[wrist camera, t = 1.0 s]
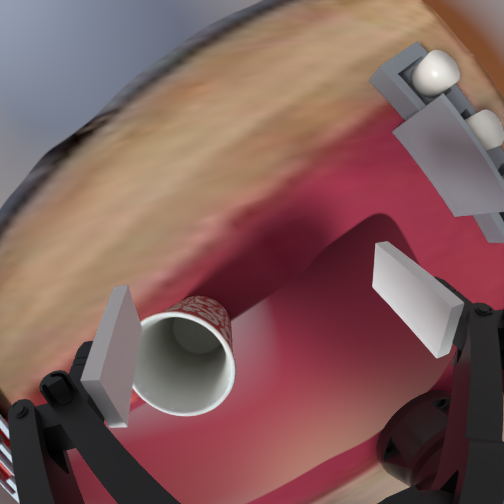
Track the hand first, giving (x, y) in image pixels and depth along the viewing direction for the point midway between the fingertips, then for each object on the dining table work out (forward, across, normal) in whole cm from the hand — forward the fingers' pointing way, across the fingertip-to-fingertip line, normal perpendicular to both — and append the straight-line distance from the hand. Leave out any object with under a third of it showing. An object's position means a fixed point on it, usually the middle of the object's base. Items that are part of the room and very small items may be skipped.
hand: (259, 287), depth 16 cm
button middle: (+17, -31, -5) cm, 36 cm away
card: (+19, -26, 0) cm, 32 cm away
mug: (+17, +7, +15) cm, 23 cm away
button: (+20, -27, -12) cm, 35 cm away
